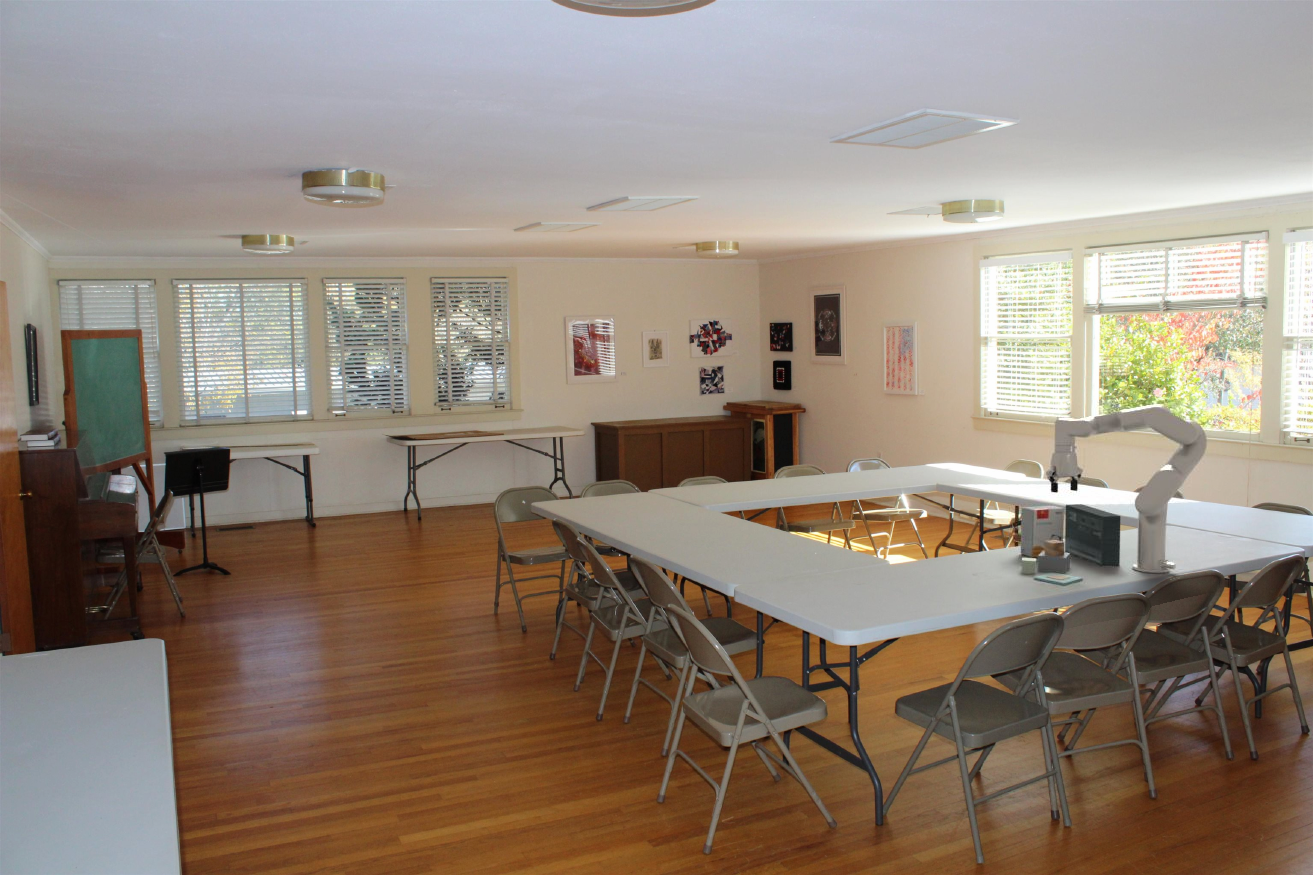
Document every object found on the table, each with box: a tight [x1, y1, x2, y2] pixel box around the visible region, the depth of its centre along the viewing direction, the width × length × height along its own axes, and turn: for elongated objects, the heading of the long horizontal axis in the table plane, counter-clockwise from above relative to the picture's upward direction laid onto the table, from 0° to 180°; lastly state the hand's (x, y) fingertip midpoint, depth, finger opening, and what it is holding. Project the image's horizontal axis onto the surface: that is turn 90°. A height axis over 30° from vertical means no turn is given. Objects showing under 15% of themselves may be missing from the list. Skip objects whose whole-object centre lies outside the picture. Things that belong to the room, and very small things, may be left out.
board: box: [1033, 571, 1083, 586], centre depth 344 cm, size 12×12×1 cm
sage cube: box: [1021, 557, 1037, 575], centre depth 357 cm, size 5×5×5 cm
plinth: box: [1037, 551, 1071, 574], centre depth 361 cm, size 10×10×6 cm
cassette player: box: [1064, 503, 1121, 567], centre depth 376 cm, size 29×7×20 cm, turn 4°
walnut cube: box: [1045, 540, 1065, 556], centre depth 361 cm, size 5×5×5 cm
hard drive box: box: [1020, 505, 1065, 558], centre depth 385 cm, size 16×8×20 cm, turn 105°
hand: (1064, 491), depth 372 cm, fingers open, 9 cm apart
